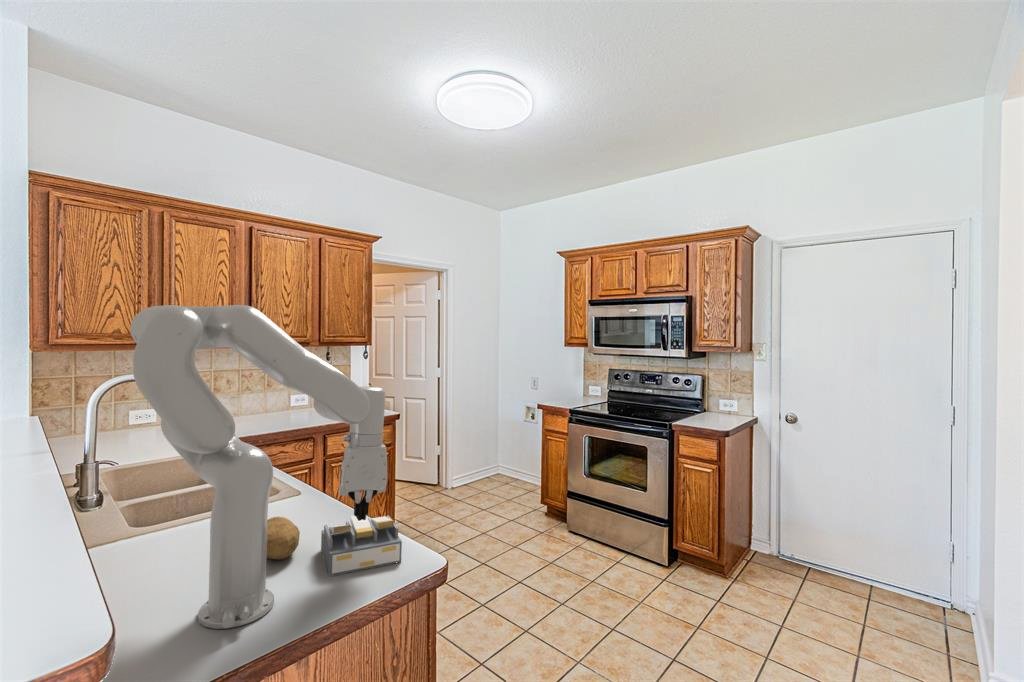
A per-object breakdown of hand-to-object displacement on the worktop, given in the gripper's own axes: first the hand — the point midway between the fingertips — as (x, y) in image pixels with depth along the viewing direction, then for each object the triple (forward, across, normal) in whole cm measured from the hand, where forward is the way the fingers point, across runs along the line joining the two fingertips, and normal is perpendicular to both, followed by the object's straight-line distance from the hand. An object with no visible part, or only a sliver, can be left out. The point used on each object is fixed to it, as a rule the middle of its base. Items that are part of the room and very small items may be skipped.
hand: (360, 518), depth 112 cm
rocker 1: (+3, -4, +4) cm, 6 cm away
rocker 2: (+3, +1, +4) cm, 5 cm away
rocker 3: (+3, +6, +4) cm, 8 cm away
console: (+10, +1, +4) cm, 11 cm away
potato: (+11, -16, +12) cm, 23 cm away
